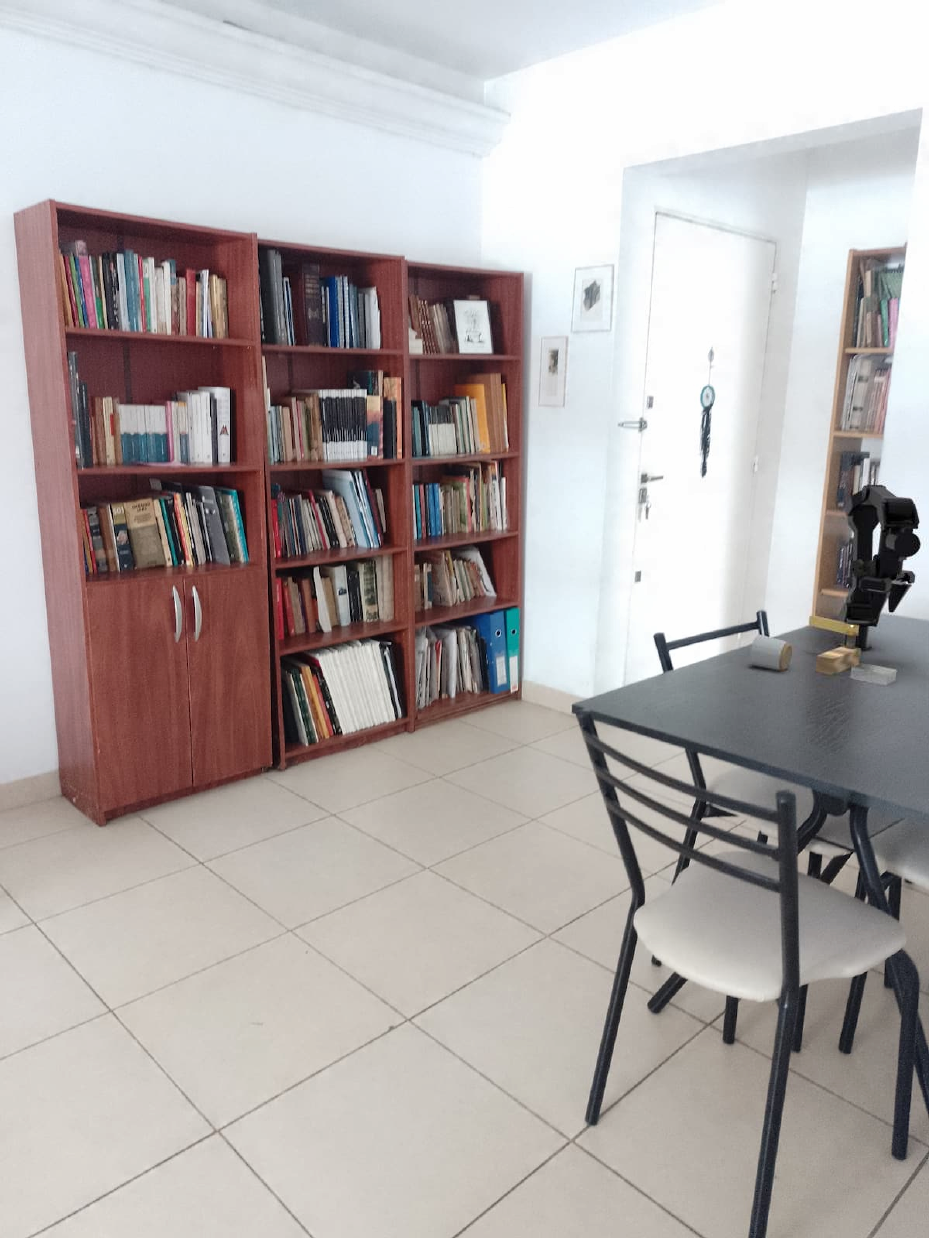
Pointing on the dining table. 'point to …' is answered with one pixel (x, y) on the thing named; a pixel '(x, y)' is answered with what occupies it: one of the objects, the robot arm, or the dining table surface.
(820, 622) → the lever
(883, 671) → the frosted white brick
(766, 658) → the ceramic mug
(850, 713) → the dining table surface
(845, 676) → the dining table surface
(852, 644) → the tan block
